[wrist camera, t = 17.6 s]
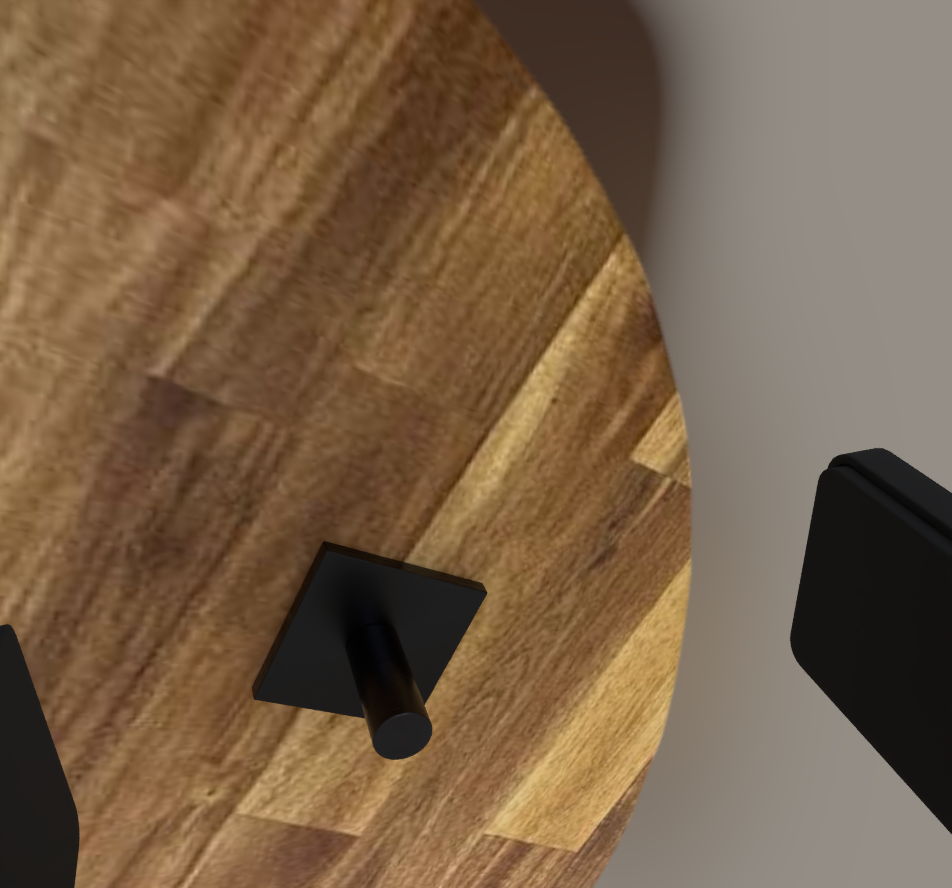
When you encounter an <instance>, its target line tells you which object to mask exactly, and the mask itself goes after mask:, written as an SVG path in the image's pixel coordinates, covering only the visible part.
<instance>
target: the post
mask: <svg viewBox="0 0 952 888" xmlns="http://www.w3.org/2000/svg"><path fill="white" fill-rule="evenodd" d="M486 595H487V591H486V589H485V587H484V585H483V584H482V583H479V582H476V581H472V580H468V579H464V578H461V577H457V576H453V575H449V574H445V573H442V572H438V571H434V570H430V569H427V568H423V567H419V566H415V565H412V564H408V563H404V562H400V561H397V560H393V559H389V558H385V557H381V556H378V555H374V554H370V553H366V552H363V551H359V550H355V549H351V548H348V547H344V546H340V545H336V544H333V543H329V542H325V541H324V542H323V544H322V546H321V548H320V550H319V552H318V554H317V556H316V558H315V560H314V562H313V564H312V566H311V568H310V570H309V572H308V575H307V577H306V579H305V581H304V583H303V585H302V587H301V589H300V591H299V593H298V595H297V597H296V599H295V601H294V603H293V605H292V607H291V609H290V611H289V613H288V615H287V618H286V620H285V622H284V624H283V626H282V628H281V630H280V632H279V634H278V636H277V638H276V640H275V642H274V644H273V646H272V648H271V650H270V652H269V654H268V656H267V658H266V660H265V663H264V665H263V667H262V669H261V671H260V673H259V675H258V677H257V679H256V681H255V683H254V685H253V687H252V690H253V697H254V699H255V700H260V701H266V702H272V703H278V704H283V705H289V706H295V707H301V708H307V709H313V710H318V711H324V712H330V713H336V714H342V715H348V716H354V717H359V718H365V719H366V723H367V726H368V730H369V733H370V736H371V740H372V743H373V747H374V749H375V751H376V752H377V753H378V754H379V755H380V756H382V757H384V758H387V759H392V760H398V759H404V758H408V757H410V756H413V755H415V754H416V753H418V752H419V751H421V750H422V749H423V748H424V747H425V746H426V745H427V743H428V742H429V740H430V738H431V735H432V724H431V722H430V719H429V716H428V714H427V711H426V708H425V706H424V705H425V703H426V702H427V700H428V698H429V696H430V695H431V693H432V691H433V689H434V687H435V686H436V684H437V682H438V680H439V678H440V677H441V675H442V673H443V671H444V670H445V668H446V666H447V664H448V662H449V661H450V659H451V657H452V655H453V654H454V652H455V650H456V648H457V646H458V645H459V643H460V641H461V639H462V638H463V636H464V634H465V632H466V630H467V629H468V627H469V625H470V623H471V622H472V620H473V618H474V616H475V614H476V613H477V611H478V609H479V607H480V606H481V604H482V602H483V600H484V598H485V597H486Z"/></svg>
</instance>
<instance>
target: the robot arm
mask: <svg viewBox="0 0 952 888" xmlns="http://www.w3.org/2000/svg"><path fill="white" fill-rule="evenodd" d="M790 642H791V648H792V651H793V654H794V656H795V658H796V661H797V662H798V663H799V665H800V666H801V667H802V668H803V669H804V671H805V672H806V673H807V674H808V675H809V676H810V677H811V678H812V679H813V680H814V682H815V683H816V684H817V685H818V686H819V687H820V688H821V689H822V691H823V692H824V693H825V694H826V695H827V696H828V697H829V698H830V700H831V701H832V702H833V703H834V704H835V705H836V706H837V707H838V708H839V710H840V711H841V712H842V713H843V714H844V715H845V716H846V717H847V718H848V719H849V721H850V722H851V723H852V724H853V725H854V726H855V727H856V728H857V730H858V731H859V732H860V733H861V734H862V735H863V736H864V737H865V738H866V739H867V741H868V742H869V743H870V744H871V745H872V746H873V747H874V748H875V749H876V751H877V752H878V753H879V754H880V755H881V756H882V757H883V758H884V759H885V760H886V762H887V763H888V764H889V765H890V766H891V767H892V768H893V769H894V771H895V772H896V773H897V774H898V775H899V776H900V777H901V778H902V779H903V781H904V782H905V783H906V784H907V785H908V786H909V787H910V788H911V789H912V791H913V792H914V793H915V794H916V795H917V796H918V797H919V798H920V799H921V801H922V802H923V803H924V804H925V805H926V806H927V807H928V808H929V810H930V811H931V812H932V813H933V814H934V815H935V816H936V817H937V818H938V820H940V822H941V823H942V824H943V825H944V826H945V827H946V828H947V830H948V831H949V832H950V833H951V834H952V493H951V492H949V491H948V490H946V489H945V488H943V487H942V486H940V485H939V484H937V483H936V482H934V481H933V480H932V479H930V478H929V477H927V476H926V475H924V474H923V473H921V472H920V471H918V470H917V469H915V468H914V467H912V466H911V465H909V464H908V463H906V462H905V461H903V460H902V459H900V458H899V457H897V456H896V455H894V454H893V453H891V452H890V451H888V450H885V449H883V448H874V449H869V450H863V451H858V452H853V453H847V454H842V455H838V456H836V457H835V458H833V459H832V461H831V462H830V463H829V466H828V469H826V470H824V471H823V472H822V474H821V475H820V477H819V480H818V485H817V490H816V496H815V501H814V507H813V513H812V518H811V524H810V530H809V535H808V540H807V546H806V551H805V557H804V563H803V568H802V573H801V579H800V584H799V590H798V596H797V601H796V607H795V612H794V618H793V623H792V629H791V635H790ZM78 850H79V821H78V815H77V810H76V806H75V803H74V800H73V797H72V794H71V791H70V789H69V786H68V783H67V780H66V777H65V774H64V771H63V768H62V766H61V763H60V760H59V757H58V754H57V751H56V748H55V745H54V743H53V740H52V737H51V734H50V731H49V728H48V725H47V722H46V720H45V717H44V714H43V711H42V708H41V705H40V702H39V699H38V697H37V694H36V691H35V688H34V685H33V682H32V679H31V676H30V673H29V671H28V668H27V665H26V662H25V659H24V656H23V653H22V650H21V648H20V645H19V642H18V639H17V636H16V634H15V631H14V629H13V628H12V627H11V625H8V624H6V625H1V626H0V888H74V886H75V877H76V868H77V859H78Z"/></svg>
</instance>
